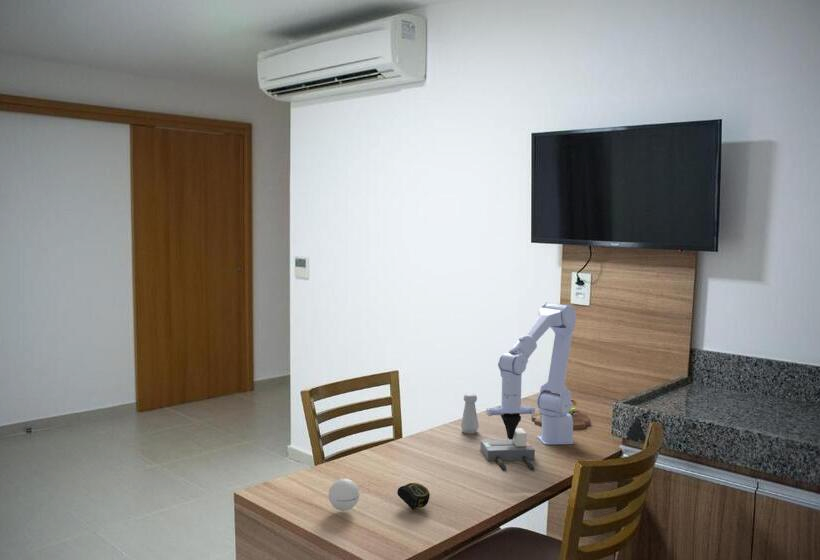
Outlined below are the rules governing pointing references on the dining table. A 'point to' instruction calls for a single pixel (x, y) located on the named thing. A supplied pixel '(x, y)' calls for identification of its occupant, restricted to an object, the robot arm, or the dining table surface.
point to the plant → (578, 418)
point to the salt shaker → (470, 415)
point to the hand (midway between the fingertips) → (510, 438)
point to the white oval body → (344, 494)
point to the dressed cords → (523, 459)
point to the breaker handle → (519, 437)
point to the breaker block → (506, 450)
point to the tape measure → (414, 495)
